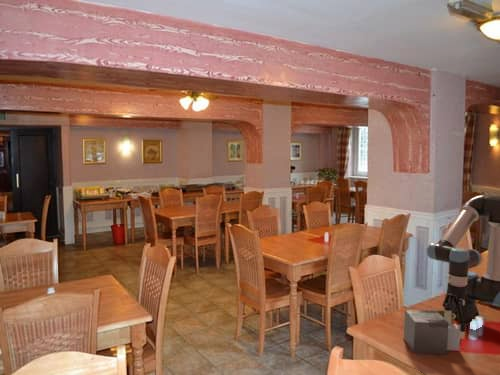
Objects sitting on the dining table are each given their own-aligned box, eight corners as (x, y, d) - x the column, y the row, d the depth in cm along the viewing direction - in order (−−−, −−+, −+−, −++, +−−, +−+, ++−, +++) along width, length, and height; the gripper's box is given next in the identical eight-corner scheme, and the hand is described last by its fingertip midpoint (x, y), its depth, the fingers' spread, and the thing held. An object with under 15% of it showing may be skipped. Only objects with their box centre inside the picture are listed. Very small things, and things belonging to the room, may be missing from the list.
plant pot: (452, 328, 198) (454, 311, 197) (455, 337, 189) (457, 319, 188) (432, 325, 201) (433, 309, 200) (434, 334, 192) (435, 316, 191)
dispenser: (434, 340, 186) (436, 310, 184) (446, 354, 173) (448, 323, 171) (403, 338, 186) (405, 309, 185) (413, 353, 174) (415, 322, 172)
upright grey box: (454, 345, 181) (455, 323, 180) (459, 350, 176) (460, 328, 175) (431, 344, 182) (432, 322, 181) (435, 349, 177) (437, 327, 176)
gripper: (436, 275, 189) (433, 318, 191) (461, 293, 164) (458, 344, 166) (453, 275, 188) (450, 319, 190) (480, 294, 163) (476, 344, 165)
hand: (453, 331), depth 178 cm, fingers open, 13 cm apart
